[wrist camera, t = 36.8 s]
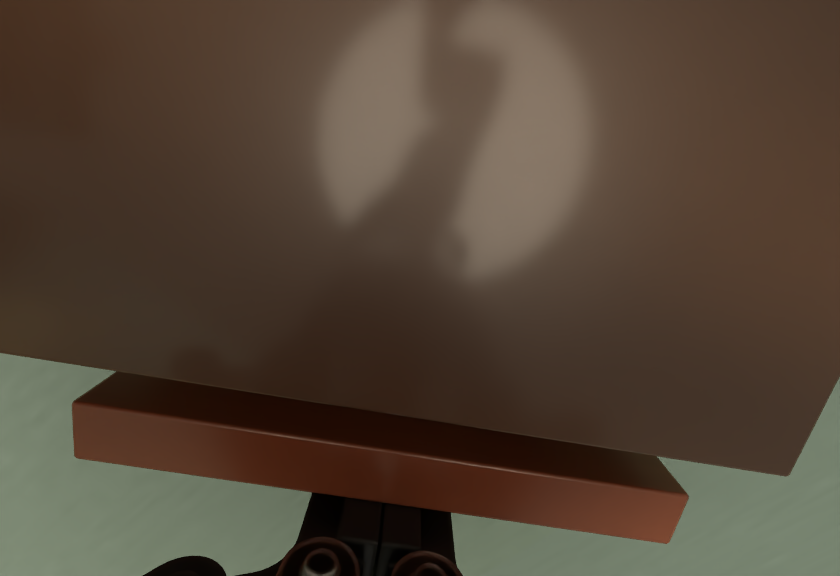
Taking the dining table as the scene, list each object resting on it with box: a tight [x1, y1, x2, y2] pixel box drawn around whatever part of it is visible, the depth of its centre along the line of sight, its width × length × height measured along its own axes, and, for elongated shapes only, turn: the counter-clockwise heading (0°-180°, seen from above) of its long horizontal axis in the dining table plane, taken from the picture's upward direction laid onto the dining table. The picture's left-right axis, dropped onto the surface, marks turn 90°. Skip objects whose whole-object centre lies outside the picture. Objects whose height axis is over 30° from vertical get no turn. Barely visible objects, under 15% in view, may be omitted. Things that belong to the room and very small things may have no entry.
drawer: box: [72, 371, 689, 544], centre depth 10 cm, size 20×11×7 cm, turn 170°
